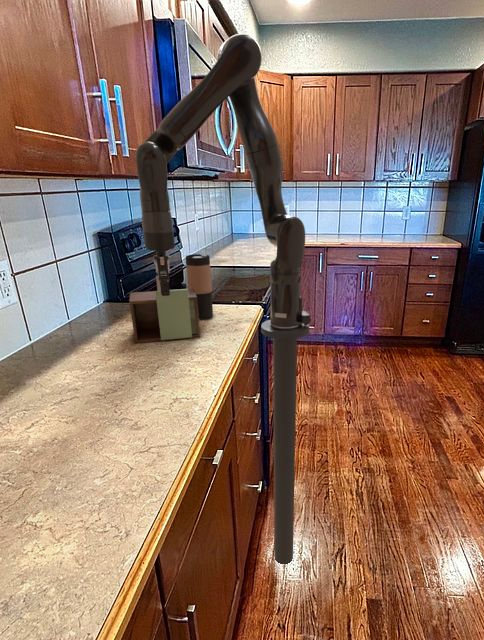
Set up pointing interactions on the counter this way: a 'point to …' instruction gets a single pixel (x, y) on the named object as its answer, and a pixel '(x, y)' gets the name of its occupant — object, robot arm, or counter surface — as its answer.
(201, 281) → the travel mug
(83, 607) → the counter surface
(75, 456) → the counter surface
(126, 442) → the counter surface
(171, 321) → the sliding door
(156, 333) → the cabinet
